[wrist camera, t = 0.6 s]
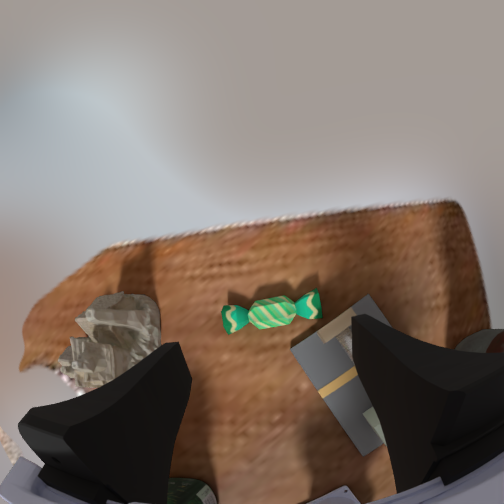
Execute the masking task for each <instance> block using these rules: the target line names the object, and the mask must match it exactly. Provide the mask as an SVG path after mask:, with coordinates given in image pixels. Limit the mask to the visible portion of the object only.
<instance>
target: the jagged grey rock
mask: <svg viewBox="0 0 504 504" xmlns="http://www.w3.org/2000/svg"><path fill="white" fill-rule="evenodd" d="M75 321H76V322H77V323H78V324H79V326H80V327H81V328H82V329H83V330H84V331H85V333H86V334H88V335H89V336H88V337H87V338H86V337H78V338H74V337H70V341H71V346H68V347H67V348H66V349H65V351H64V352H63V353H62V355H60V357H59V360H58V362H60V364H61V365H62V367H61V369H60V370H61V372H62V373H63V374H65V375H68V376H70V377H71V378H75V384H76V386H77V387H89V388H99V387H101V386H103V385H105V384H107V383H108V382H110V381H112V380H114V379H115V378H117V377H118V376H120V375H121V374H123V373H124V372H126V371H127V370H129V369H130V368H132V367H133V366H134V365H136V364H137V363H138V362H140V361H141V360H142V359H144V358H145V357H146V356H148V355H149V354H150V353H152V352H153V351H154V350H156V349H157V348H159V347H160V346H161V330H160V312H159V309H158V307H157V305H156V303H155V301H153V300H152V299H151V298H150V297H148V296H146V295H139V294H124V291H122V292H120V293H115V294H112V295H104V296H99V297H97V298H96V299H95V300H94V301H93V303H92V304H91V305H90V306H89V307H88V308H87V310H86V311H85V312H83V313H82V314H80V315H79V316H78V317H76V318H75Z"/></svg>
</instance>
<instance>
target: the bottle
mask: <svg viewBox="0 0 504 504" xmlns="http://www.w3.org/2000/svg"><path fill="white" fill-rule="evenodd" d="M454 350H459V351H466V352H477V353H501V352H504V329H483V330H481V331H479V332H476V333H474V334H472V335H470V336H467V337H466V338H465V339H463V340H462V341H461V342H460V343H459V344H458V345H457V346H456V348H455V349H454Z"/></svg>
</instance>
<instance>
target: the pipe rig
mask: <svg viewBox="0 0 504 504" xmlns="http://www.w3.org/2000/svg"><path fill="white" fill-rule="evenodd" d="M361 314H367V315H369V316H371V317H373V318H375V319H377V320H379V321H381V322H382V323H384V324H386V325H388V326H390V327H392V326H391V325H390V324H389V322H388V321H387V319H386V318H385V316H384V315H383V313H382V312H381V311H380V309H379V308H378V306H377V305H376V304H375V302H374V301H373V299H372V298H371V297H370V295H369V294H367V295H366V296H365V297H363V298H362V299H361V300H359V301H358V302H357V303H355V304H354V305H353V306H351V307H350V308H349V309H347V310H346V311H345V312H343V313H342V314H341V315H339V316H338V317H336V318H335V319H334V320H332V321H331V322H329V323H328V324H327V325H325V326H324V327H322V328H321V329H319V330H318V331H316V332H315V333H314V334H312V335H311V336H309V337H308V338H306V339H305V340H303V341H302V342H300V343H299V344H297V345H296V346H294V347H292V348H291V349H290V350H291V352H292V353H293V355H294V356H295V358H296V359H297V361H298V362H299V364H300V365H301V367H302V368H303V370H304V371H305V373H306V374H307V376H308V377H309V379H310V380H311V382H312V383H313V385H314V386H315V388H316V389H317V391H318V392H319V394H320V395H321V397H322V398H323V399H324V401H325V402H326V404H327V405H328V407H329V408H330V410H331V411H332V413H333V414H334V416H335V417H336V418H337V420H338V421H339V423H340V424H341V426H342V427H343V429H344V430H345V432H346V433H347V434H348V436H349V437H350V439H351V440H352V442H353V443H354V444H355V446H356V447H357V449H358V450H359V452H360V453H361V454H362V456H363V457H364V456H365V455H367V454H368V453H370V452H371V451H373V450H374V449H376V448H377V447H379V446H380V445H382V444H383V442H382V440H381V439H380V438H379V437H378V435H377V434H376V433H375V432H374V430H373V429H372V427H371V426H370V424H369V423H368V421H367V420H366V418H365V417H364V415H363V413H364V412H365V411H367V410H368V409H370V408H371V407H372V403H371V401H370V399H369V397H368V395H367V393H366V391H365V389H364V387H363V385H362V383H361V381H360V379H359V376H358V374H357V371H356V368H355V364H354V361H353V358H352V325H351V317H352V316H357V315H361Z"/></svg>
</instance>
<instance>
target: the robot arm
mask: <svg viewBox="0 0 504 504" xmlns="http://www.w3.org/2000/svg"><path fill="white" fill-rule="evenodd" d="M351 325H352V358H353V361H354V364H355V368H356V371H357V374H358V376H359V379H360V381H361V383H362V385H363V387H364V389H365V391H366V393H367V395H368V397H369V399H370V401H371V403H372V406H373V408H374V410H375V412H376V414H377V417H378V419H379V421H380V425H381V428H382V431H383V434H384V438H385V441H386V445H387V448H388V452H389V456H390V460H391V465H392V469H393V474H394V479H395V484H396V490H397V494H395V495H392V496H389V497H386V498H383V499H380V500H376V501H373V502H369V503H366V504H504V352H501V353H477V352H466V351H459V350H454V349H448V348H444V347H440V346H436V345H433V344H430V343H426V342H423V341H421V340H418V339H415V338H413V337H411V336H408V335H406V334H404V333H402V332H400V331H398V330H396V329H394V328H392V327H390V326H388V325H386V324H384V323H382V322H381V321H379V320H377V319H375V318H373V317H371V316H369V315H367V314H361V315H357V316H352V317H351ZM191 383H192V377H191V374H190V372H189V369H188V367H187V364H186V361H185V358H184V356H183V353H182V350H181V347H180V344H179V342H171V343H165V344H163V345H161V346H160V347H159V348H157V349H156V350H154V351H153V352H152V353H150V354H149V355H148V356H146V357H145V358H144V359H142V360H141V361H140V362H138V363H137V364H136V365H134V366H133V367H132V368H130V369H129V370H127V371H126V372H124V373H123V374H121V375H120V376H118V377H117V378H115V379H114V380H112V381H110V382H108V383H107V384H105V385H103V386H101V387H99V388H97V389H95V390H93V391H90V392H88V393H86V394H83V395H81V396H79V397H76V398H73V399H70V400H67V401H63V402H60V403H56V404H51V405H46V406H40V407H34V408H31V409H30V410H29V411H28V413H27V414H26V415H25V416H24V417H23V418H22V420H21V421H20V422H19V423H18V429H19V432H20V434H21V436H22V438H23V439H24V440H25V441H26V443H27V444H28V445H29V447H30V448H31V449H32V450H33V451H34V452H35V453H36V455H37V456H38V457H39V458H40V459H41V460H42V461H43V462H44V463H45V465H44V466H43V468H41V467H39V466H38V465H37V464H35V463H33V462H31V461H29V460H27V459H25V458H23V457H19V459H18V460H17V462H16V463H15V464H14V466H13V467H12V469H11V470H10V472H9V473H8V475H7V476H6V477H5V479H4V480H3V482H2V483H1V485H0V496H1V497H2V498H3V499H4V500H5V501H6V502H8V503H9V504H167V495H168V483H169V474H170V466H171V459H172V454H173V448H174V443H175V440H176V436H177V433H178V430H179V427H180V424H181V421H182V418H183V415H184V412H185V409H186V406H187V403H188V400H189V395H190V390H191ZM345 490H348V491H346V492H345ZM306 504H361V503H360V502H359V501H358V499H357V498H356V497H355V496H354V494H353V493H352V492H351V490H350V489H349V488H348V487H347V486H346V485H345V486H342V487H340V488H338V489H336V490H334V491H332V492H330V493H328V494H326V495H324V496H322V497H320V498H317V499H315V500H313V501H311V502H309V503H306Z"/></svg>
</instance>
